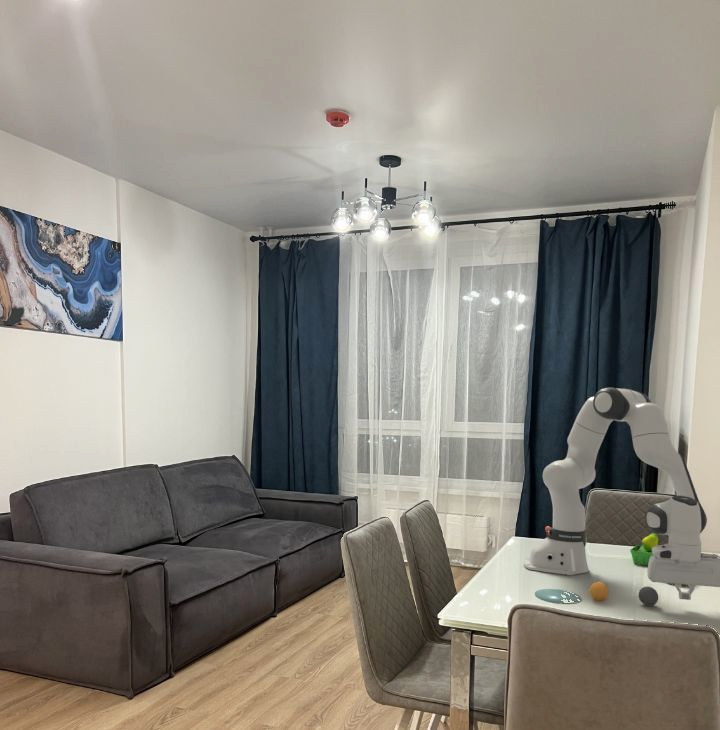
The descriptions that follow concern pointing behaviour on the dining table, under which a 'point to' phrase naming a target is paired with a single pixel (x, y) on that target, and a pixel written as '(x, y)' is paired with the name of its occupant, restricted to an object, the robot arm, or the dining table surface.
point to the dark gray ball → (648, 596)
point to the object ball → (599, 591)
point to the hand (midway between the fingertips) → (684, 599)
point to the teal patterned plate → (556, 595)
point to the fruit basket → (644, 550)
